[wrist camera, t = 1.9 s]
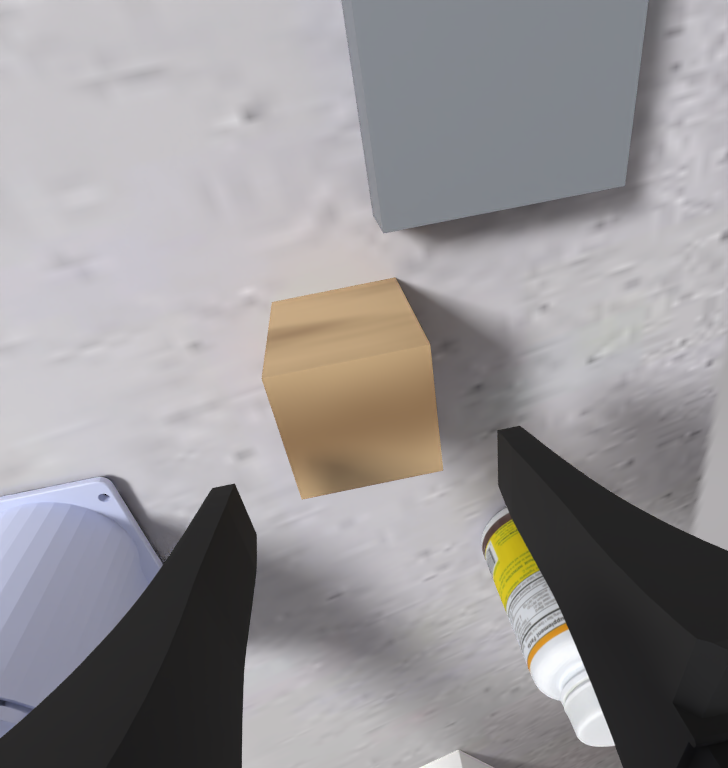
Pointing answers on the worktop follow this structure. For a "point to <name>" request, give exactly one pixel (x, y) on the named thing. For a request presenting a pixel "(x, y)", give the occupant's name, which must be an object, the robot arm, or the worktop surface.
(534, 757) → the worktop surface
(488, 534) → the supplement bottle
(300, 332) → the oak block
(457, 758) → the milk
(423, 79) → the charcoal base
